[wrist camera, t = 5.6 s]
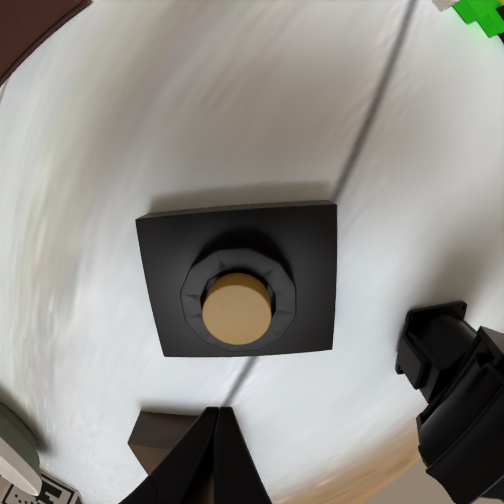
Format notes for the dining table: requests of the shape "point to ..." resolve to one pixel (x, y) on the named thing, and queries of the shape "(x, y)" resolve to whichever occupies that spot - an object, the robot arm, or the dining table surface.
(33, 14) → the desk organizer
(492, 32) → the building blocks
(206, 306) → the button
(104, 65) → the dining table surface
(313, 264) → the yellow push button box
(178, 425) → the stepped brown tray
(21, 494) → the block
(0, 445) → the bowl
